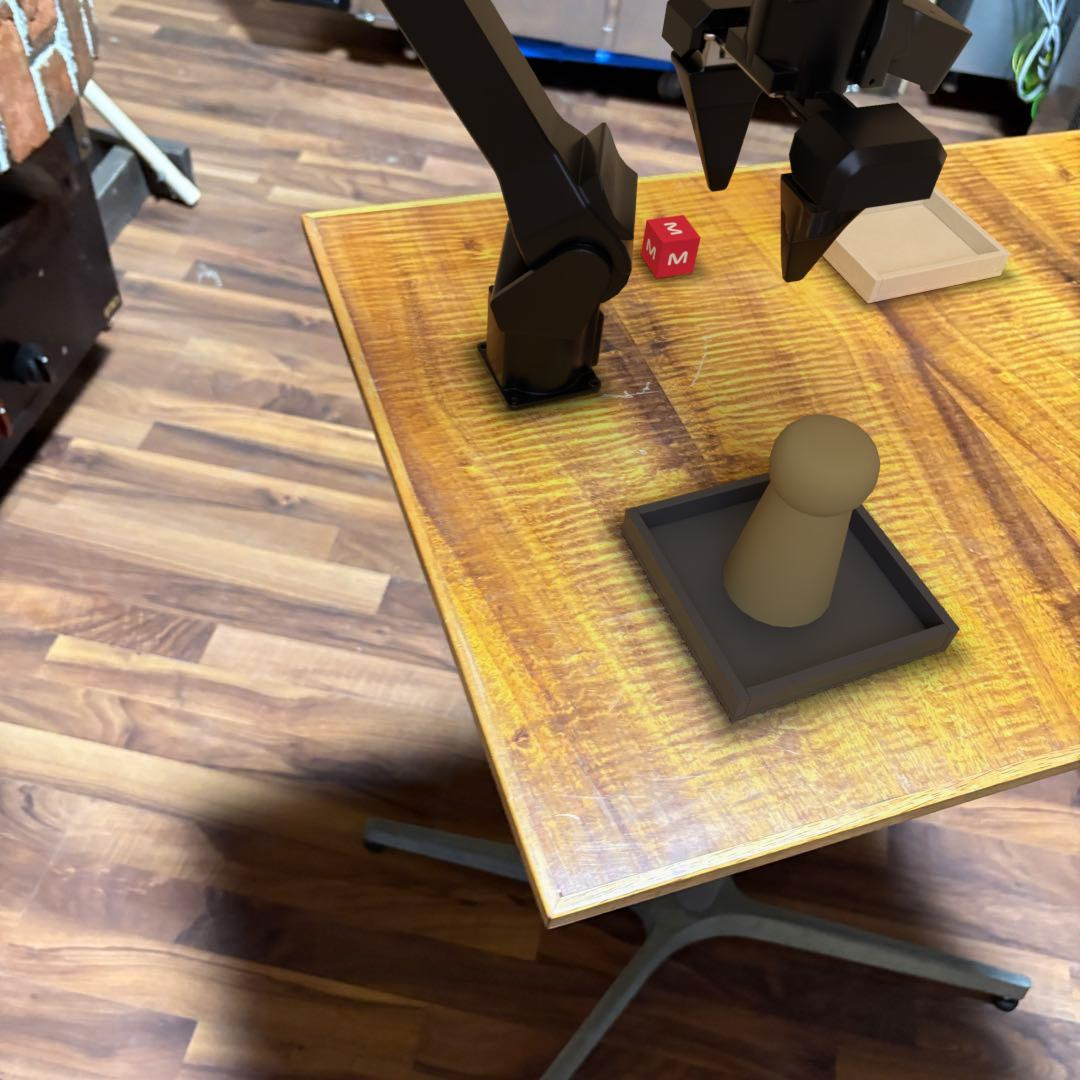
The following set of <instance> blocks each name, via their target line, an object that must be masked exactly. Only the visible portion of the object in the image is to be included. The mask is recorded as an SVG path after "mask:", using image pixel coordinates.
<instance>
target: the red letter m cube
mask: <svg viewBox="0 0 1080 1080" xmlns="http://www.w3.org/2000/svg"><path fill="white" fill-rule="evenodd" d="M700 242H701V236H700V235H699V233H698V232H697V231H696V229H695V228H694V226H693V225H692V224H691V223H690V221H689V220H688V219H687V217H686V216H685V215H684V214H679V215H672V216H665V217H657V218H651V219H646V221H645V227H644V232H643V238H642V245H641V251H640V256H641V258H642V259H643V261H644V263H646V265H647V267H648V268H649V270H650V271H651V273H652V274H653V276H654V277H655V278H656V279H659V278H667V277H673V276H679V275H686V274H692V273H694V270H695V265H696V261H697V257H698V251H699V247H700Z"/></svg>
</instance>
